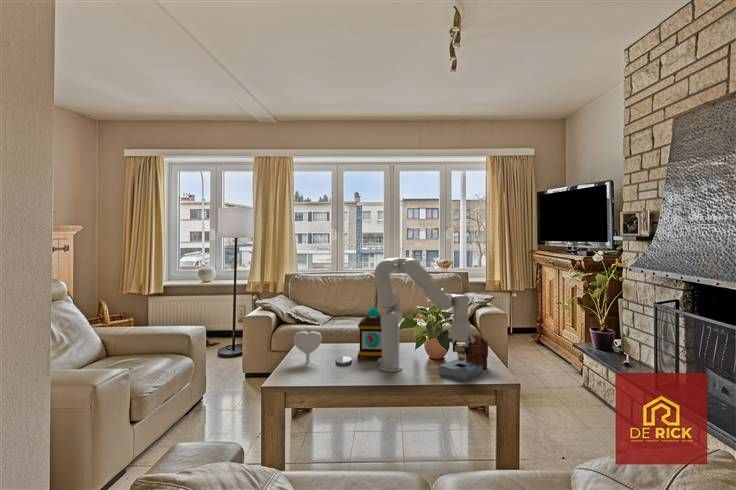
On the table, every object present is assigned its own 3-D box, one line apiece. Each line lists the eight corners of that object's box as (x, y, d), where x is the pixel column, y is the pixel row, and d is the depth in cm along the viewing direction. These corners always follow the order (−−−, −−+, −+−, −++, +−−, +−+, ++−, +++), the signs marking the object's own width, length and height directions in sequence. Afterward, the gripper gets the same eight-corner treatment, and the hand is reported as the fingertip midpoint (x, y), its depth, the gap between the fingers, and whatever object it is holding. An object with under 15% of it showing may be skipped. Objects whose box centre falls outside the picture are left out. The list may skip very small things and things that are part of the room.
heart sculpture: (293, 364, 238) (293, 332, 238) (295, 361, 243) (295, 330, 243) (320, 364, 237) (320, 332, 237) (322, 362, 242) (322, 330, 242)
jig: (439, 374, 219) (439, 365, 219) (456, 368, 230) (456, 359, 230) (465, 382, 207) (465, 372, 207) (482, 375, 218) (482, 365, 218)
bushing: (459, 357, 223) (459, 343, 223) (470, 359, 218) (470, 345, 218) (452, 359, 219) (451, 345, 218) (463, 362, 214) (463, 347, 214)
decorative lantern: (391, 353, 261) (391, 305, 260) (389, 362, 241) (389, 310, 241) (359, 352, 263) (358, 304, 262) (354, 361, 243) (354, 309, 243)
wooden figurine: (465, 368, 229) (465, 335, 229) (465, 365, 235) (465, 333, 235) (488, 370, 227) (488, 336, 227) (487, 366, 233) (487, 334, 233)
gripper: (442, 317, 222) (443, 351, 222) (471, 321, 209) (472, 357, 210) (451, 315, 227) (451, 348, 227) (479, 319, 215) (480, 354, 215)
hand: (461, 352), depth 218 cm, fingers closed on bushing, 6 cm apart
